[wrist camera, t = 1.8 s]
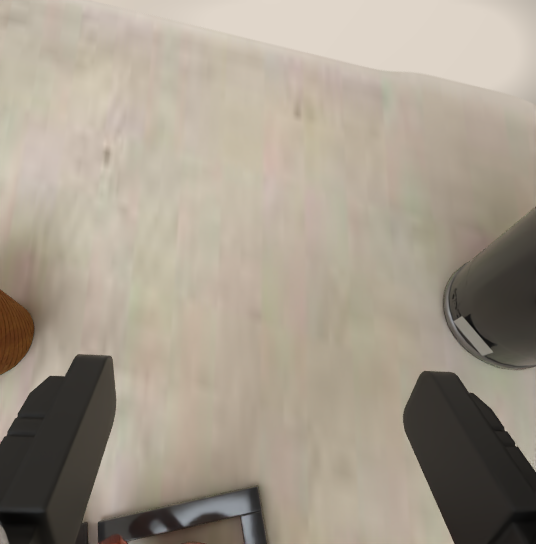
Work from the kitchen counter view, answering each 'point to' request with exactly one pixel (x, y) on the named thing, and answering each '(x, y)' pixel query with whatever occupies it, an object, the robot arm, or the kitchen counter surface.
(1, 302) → the disposable coffee cup
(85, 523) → the grey square storage bin
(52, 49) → the kitchen counter surface
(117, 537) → the red mug
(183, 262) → the kitchen counter surface
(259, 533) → the hollow square frame
